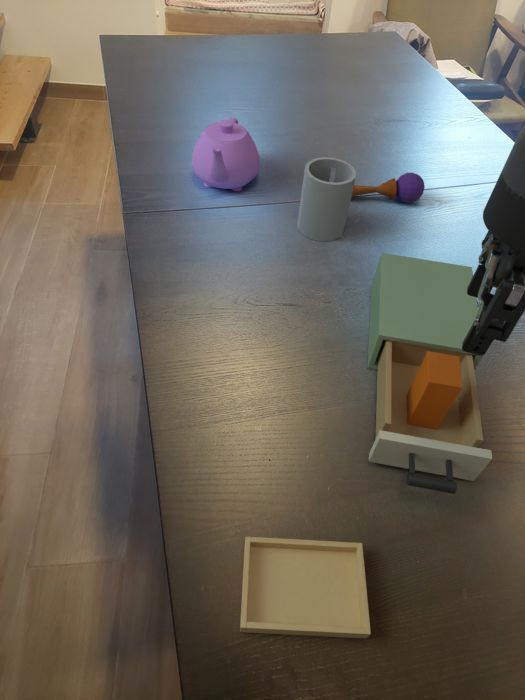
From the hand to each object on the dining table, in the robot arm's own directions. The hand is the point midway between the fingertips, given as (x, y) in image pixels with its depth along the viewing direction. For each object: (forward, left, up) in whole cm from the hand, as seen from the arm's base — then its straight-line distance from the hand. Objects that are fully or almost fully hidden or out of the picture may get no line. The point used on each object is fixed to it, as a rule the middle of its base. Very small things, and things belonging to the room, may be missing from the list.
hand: (474, 321), depth 52 cm
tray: (+4, +25, -22) cm, 34 cm away
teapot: (+55, -39, -23) cm, 71 cm away
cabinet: (+6, -19, -22) cm, 30 cm away
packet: (0, -3, -20) cm, 21 cm away
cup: (+31, -36, -23) cm, 53 cm away
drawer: (0, -1, -22) cm, 22 cm away
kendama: (+26, -51, -23) cm, 61 cm away
